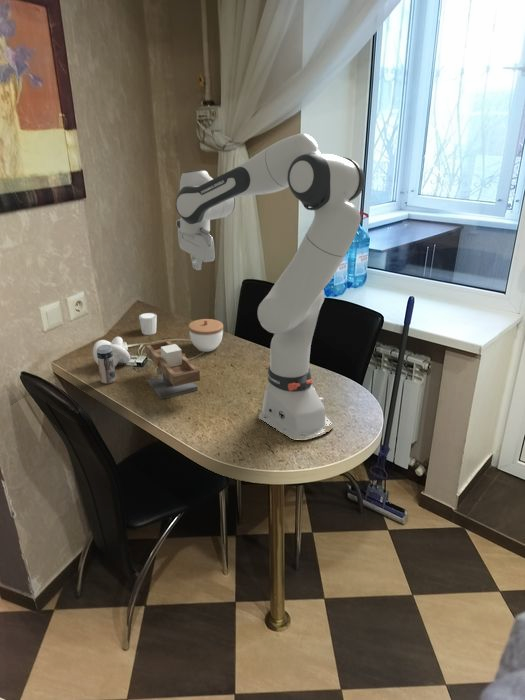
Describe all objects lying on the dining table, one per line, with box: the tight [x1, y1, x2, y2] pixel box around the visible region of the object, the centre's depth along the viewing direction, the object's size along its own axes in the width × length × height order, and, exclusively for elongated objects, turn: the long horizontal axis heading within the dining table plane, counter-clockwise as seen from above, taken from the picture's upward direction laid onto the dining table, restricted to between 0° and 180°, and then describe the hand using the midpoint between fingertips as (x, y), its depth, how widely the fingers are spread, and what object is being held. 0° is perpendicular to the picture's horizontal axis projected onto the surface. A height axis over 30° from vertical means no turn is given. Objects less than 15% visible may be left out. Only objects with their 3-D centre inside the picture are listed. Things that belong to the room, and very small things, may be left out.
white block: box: [161, 343, 183, 367], centre depth 154 cm, size 5×5×5 cm
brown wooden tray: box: [144, 339, 201, 400], centre depth 157 cm, size 25×12×10 cm, turn 31°
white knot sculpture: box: [92, 336, 131, 368], centre depth 170 cm, size 11×12×9 cm
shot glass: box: [138, 312, 158, 336], centre depth 197 cm, size 7×7×7 cm
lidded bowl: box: [188, 318, 224, 353], centre depth 184 cm, size 13×13×11 cm
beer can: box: [97, 345, 116, 385], centre depth 159 cm, size 5×5×12 cm
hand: (196, 269), depth 159 cm, fingers closed
